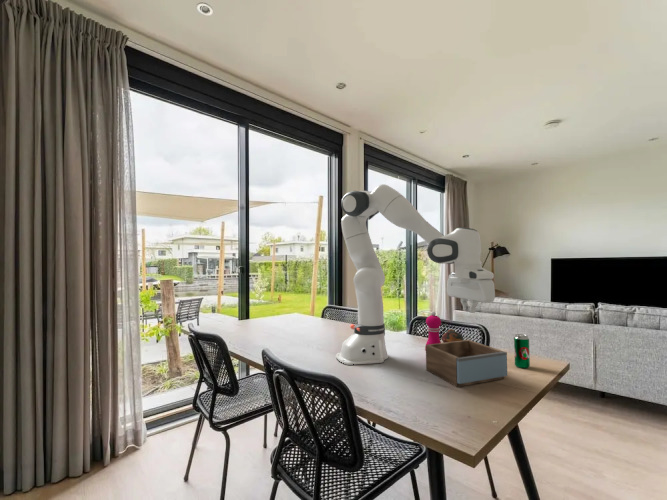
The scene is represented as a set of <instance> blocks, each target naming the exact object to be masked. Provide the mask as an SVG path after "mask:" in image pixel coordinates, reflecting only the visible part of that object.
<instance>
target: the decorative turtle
mask: <svg viewBox="0 0 667 500" xmlns="http://www.w3.org/2000/svg"><path fill="white" fill-rule="evenodd" d="M462 340H465V338H464V337H463V335H462V334H461V333H460V332H458V331H455V330H454V329H452V328H450V329H448V330H447V331H446V332H445V333H444V334H442V337H441V342H442V343H445V342H454V341H462Z"/></svg>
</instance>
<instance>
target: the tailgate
mask: <svg viewBox="0 0 667 500" xmlns="http://www.w3.org/2000/svg"><path fill="white" fill-rule="evenodd" d="M502 351H503V352H496V353H489V354H482V355H474V356H467V357H460V358H456V361H457V383H459V384H462V383H468V382H474V381H480V380H485V379H491V378H497V377H503V376H504V377H507V376H508V352H507V351H504V350H502Z"/></svg>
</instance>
